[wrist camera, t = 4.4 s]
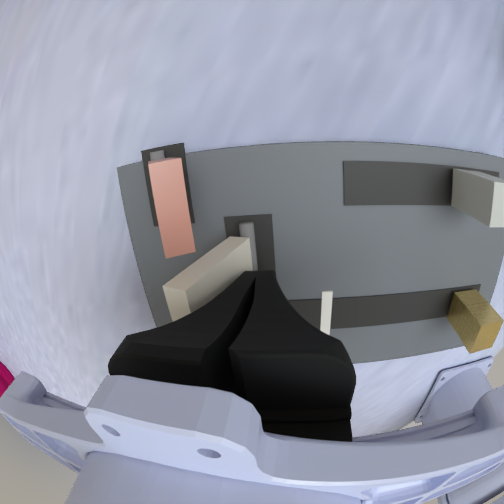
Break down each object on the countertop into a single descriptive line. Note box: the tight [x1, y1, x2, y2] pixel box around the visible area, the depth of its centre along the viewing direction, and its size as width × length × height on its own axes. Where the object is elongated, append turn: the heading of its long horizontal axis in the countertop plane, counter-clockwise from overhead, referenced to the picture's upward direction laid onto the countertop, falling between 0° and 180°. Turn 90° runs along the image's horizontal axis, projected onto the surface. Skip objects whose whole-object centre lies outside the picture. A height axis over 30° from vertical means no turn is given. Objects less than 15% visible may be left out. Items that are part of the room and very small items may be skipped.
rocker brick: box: [148, 150, 196, 258], centre depth 11 cm, size 4×1×6 cm, turn 5°
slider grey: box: [451, 169, 504, 227], centre depth 9 cm, size 2×2×4 cm
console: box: [117, 141, 504, 364], centre depth 16 cm, size 15×24×3 cm, turn 95°
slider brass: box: [447, 289, 504, 354], centre depth 12 cm, size 2×2×4 cm
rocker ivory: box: [163, 221, 258, 321], centre depth 12 cm, size 5×1×6 cm, turn 5°
